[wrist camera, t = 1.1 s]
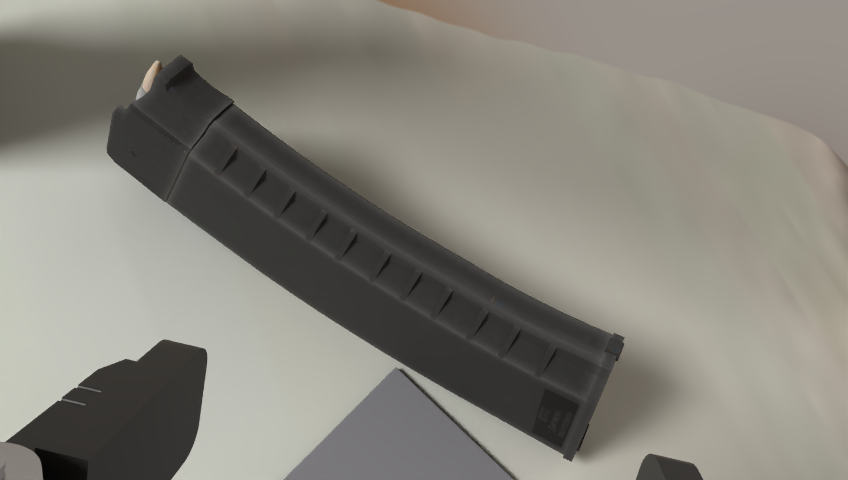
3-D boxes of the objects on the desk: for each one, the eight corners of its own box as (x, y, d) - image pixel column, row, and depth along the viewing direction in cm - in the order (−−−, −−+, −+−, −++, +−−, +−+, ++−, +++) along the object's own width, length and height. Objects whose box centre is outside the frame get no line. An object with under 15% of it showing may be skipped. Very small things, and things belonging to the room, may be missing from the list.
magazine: (712, 393, 30) (192, -80, 25) (695, 454, 28) (131, -42, 23) (501, 430, 44) (139, 130, 39) (480, 472, 42) (98, 164, 37)
